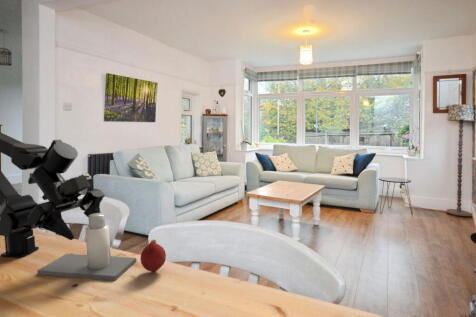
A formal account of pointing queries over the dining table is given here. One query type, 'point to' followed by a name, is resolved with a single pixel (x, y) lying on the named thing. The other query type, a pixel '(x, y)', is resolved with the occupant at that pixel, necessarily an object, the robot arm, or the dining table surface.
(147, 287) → the dining table surface
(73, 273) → the slate board
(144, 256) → the onion
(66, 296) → the dining table surface
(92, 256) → the white bottle
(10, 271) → the dining table surface
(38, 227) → the robot arm
